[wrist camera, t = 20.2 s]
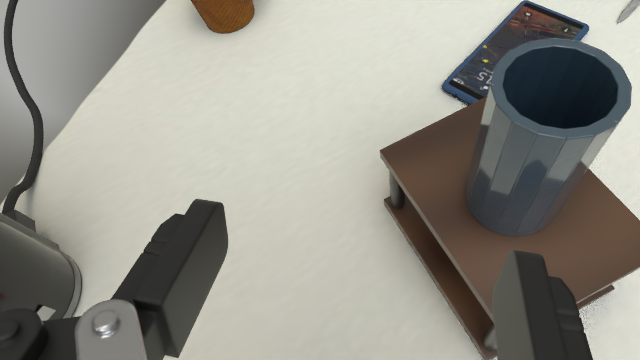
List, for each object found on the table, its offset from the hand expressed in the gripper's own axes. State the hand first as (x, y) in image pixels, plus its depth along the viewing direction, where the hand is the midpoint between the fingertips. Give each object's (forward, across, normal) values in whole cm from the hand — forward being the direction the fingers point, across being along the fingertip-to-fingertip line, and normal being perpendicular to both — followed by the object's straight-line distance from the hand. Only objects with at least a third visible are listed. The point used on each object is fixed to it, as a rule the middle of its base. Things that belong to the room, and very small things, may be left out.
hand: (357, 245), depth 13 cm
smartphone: (+38, -12, +10) cm, 41 cm away
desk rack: (+19, -10, +18) cm, 28 cm away
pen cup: (+16, -9, +10) cm, 21 cm away
